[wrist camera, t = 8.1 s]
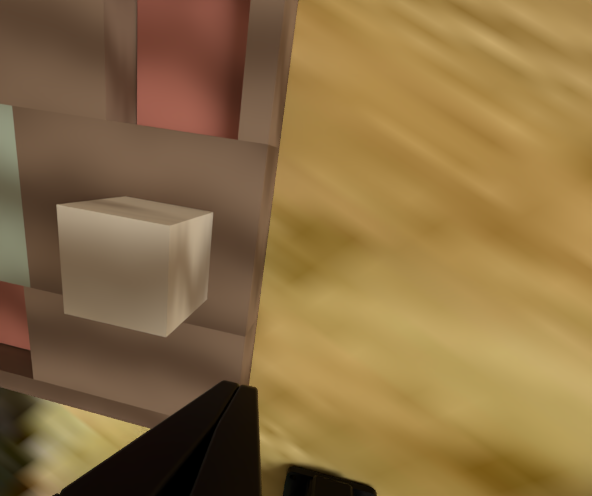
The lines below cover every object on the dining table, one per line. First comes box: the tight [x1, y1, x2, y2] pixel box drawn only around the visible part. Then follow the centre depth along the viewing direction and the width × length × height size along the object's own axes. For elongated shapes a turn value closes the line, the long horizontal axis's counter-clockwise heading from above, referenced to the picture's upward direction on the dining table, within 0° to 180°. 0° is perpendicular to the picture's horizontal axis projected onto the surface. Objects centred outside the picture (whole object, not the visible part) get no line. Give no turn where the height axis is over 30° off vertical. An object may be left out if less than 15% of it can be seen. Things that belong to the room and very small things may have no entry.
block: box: [56, 196, 213, 337], centre depth 14 cm, size 5×5×4 cm
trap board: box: [0, 0, 298, 429], centre depth 18 cm, size 27×24×2 cm
